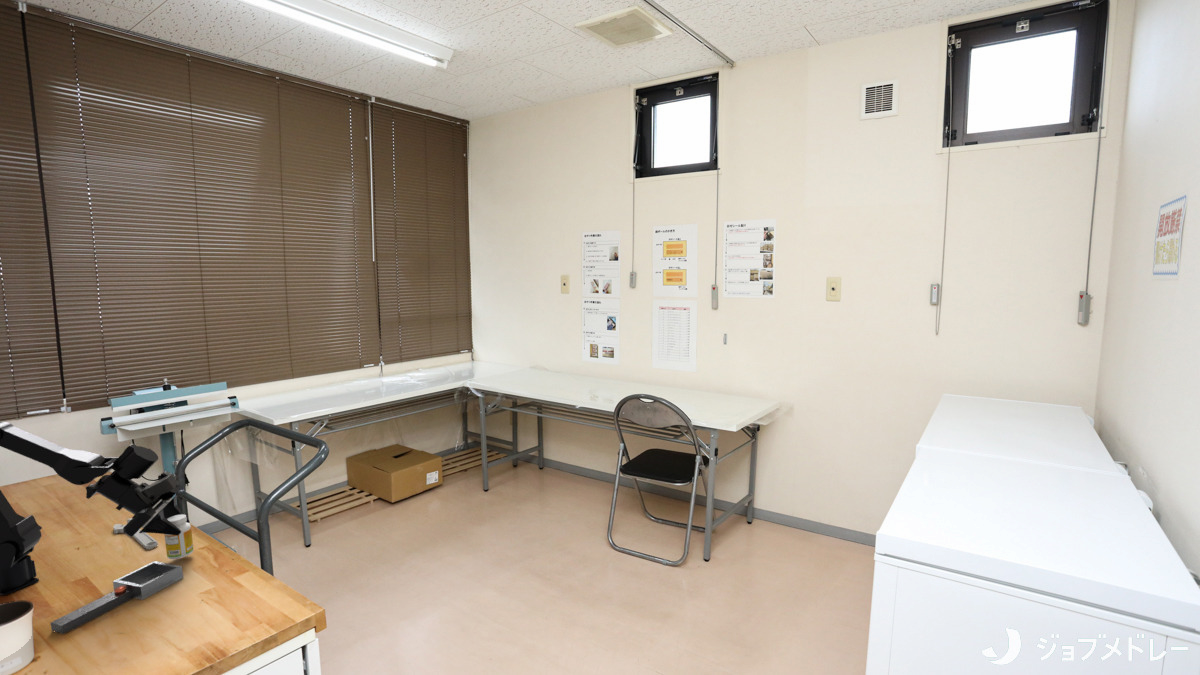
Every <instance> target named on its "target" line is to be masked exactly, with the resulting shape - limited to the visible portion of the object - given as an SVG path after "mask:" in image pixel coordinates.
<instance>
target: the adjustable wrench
mask: <svg viewBox="0 0 1200 675" xmlns="http://www.w3.org/2000/svg"><path fill="white" fill-rule="evenodd" d="M131 520H132V517H130V518H127V519H126V522H127V523H125V524H120V523H116V524H114V525H113V527H112V528H113V534H115V535H117V534H124V532H123V528H124V527H125V526H126V525H127V524H128V523H129V522H130V521H131ZM141 530H142V529H141V528H140V529H139V530H138V531H137V532H136V533H135V534H134V535H133V537H134V538H135V539H136V540H137V543H139V544H140V546H142V545H143V546H142V547H143V548H144V549H145V548H146V549H145V550H147V549H149V550H153V549H152V548H154V547H156V546H157V545H158V546H159V542H158V540H156V539H155V538H154V537H152V536H151V535H150V534H149V533H139V532H140V531H141ZM133 537H132V538H133ZM134 538H133V539H134ZM135 539H134V540H135ZM136 540H135V541H136ZM158 546H157V547H158ZM157 547H156V548H157ZM154 549H155V548H154Z"/></svg>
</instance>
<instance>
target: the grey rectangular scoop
mask: <svg viewBox="0 0 1200 675" xmlns="http://www.w3.org/2000/svg"><path fill="white" fill-rule="evenodd" d="M183 579H184V573H183V566H182V565H176V564H172V563H168V562H167V563H166V562H161V561H156V560H154V561H152V562H149V563H148V564H145V565H144V566H141V567H139V568H137V569H134V571H131V572H129V573H127V574H125V575H123V576H121V577H119V578H117V579H114V580H112V584H113V585H112V586H113V591H112V592H109V593H107V594H105V595H103V596H101V597H99V598H97V599H95V600H93V601H91V602H89V603H87V604H85V605H83V606H81V607H78V608H77V609H75V610H73V611H71V612H69V613H67V614H64V615H63V616H60V617H59V618H57V619H55V620H53V621H51V622H50V627H51V632H52V631H55V632H59V633H62V634H64V633H66V632H68V631H70V630H72V629H73V630H75V629H77V628H79V627H81V626H83V625H85V624H87V623H89V622H91V621H92V620H94V619H96V618H99V617H100V616H102V615H104V614H106V613H108V612H110V611H111V610H114V609H116V608H117V607H119V606H121V605H124V604H125V603H127V602H129V601H131V600H133V599H135V600H136V599H137V600H140V601H141V600H142V601H143V600H145V599H148V598H149V597H150V596H153V595H155V594H157V593H158V592H160V591H162V590H164V589H166V588H168V587H170V586H171V584H172V585H173V584H175V583H177V582H179V581H181V580H183ZM73 630H72V631H73ZM55 632H54V633H55ZM70 632H71V631H70ZM59 633H58V634H59ZM68 633H69V632H68ZM62 634H61V635H62ZM66 634H67V633H66ZM64 635H65V634H64Z"/></svg>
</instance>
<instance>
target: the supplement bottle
mask: <svg viewBox="0 0 1200 675" xmlns="http://www.w3.org/2000/svg"><path fill="white" fill-rule="evenodd" d="M186 517H187V515H186V514H184V513H183V514H181V515H175V516H172V517H170V518H168V519H167V520H168V521H170V522H171V523H172V524H173V525H175V526H176V527H177V528H178V529H179V530H181V533H180V534H179V535H169V534H163V535H164V542H165V551H166V556H167V559H169V560H179V559H182V558H185V557H188V556H190V555H191V554H193V552H194V544H193V533H192V526H191V523H190V522H189V523H187V522H186V521H187V519H188V518H186Z"/></svg>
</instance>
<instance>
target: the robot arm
mask: <svg viewBox="0 0 1200 675" xmlns="http://www.w3.org/2000/svg"><path fill="white" fill-rule="evenodd" d="M0 447H1V448H3V449H6V450H9V451H11V452H13V453H16V454H19V455H20V456H23V457H26V458H28V459H30V460H33V461H35V462H38V463H41V464H43V465H45V466H46V467H47V466H48V467H49V468H51V469H53V470H54V472H55V473H56V474H57V476H59V477H60V478H62V479H64V480H65V481H67V482H68V483H70V484H72V485H76V486H83V485H87V484H89V483H90V484H89V485H87V486H86V487H85V491H86V493H85V494H86V495H85V497H86V499H88V500H89V499H91V498H92V497H94V496H96V494H99V495H101V496H103V497H105V499H108V500H110V501H111V502H113V503H115V505H117V506H116V507H115V509H116V510H118V511H121V510H122V509H124V510H126V511H128V512H129V513H131V514H132V515H133V516H131V518H132V520H131V521H130V522H129V523H126V524H127V525H126V524H125V525H126V526H125V527H124V528H123V532H124V533H123V534H124V535H126V536H127V537H129V538H133V537H132V536H133V535H134V534H135V533H136V532H137V531H138V530H139V529H141V528H142V529H141V531H140V532H139V533H147V534H158V535H159V534H160V535H164V534H169V535H179V534H180V533H181V530H179V529H178V528H177V527H176V526H175V525H173V524H172V523H171V522H170V521H168V520H167V519H168V518H170V517H172V516H175V515H181V514H184V512H183V511H182V510H181V509H180V507H179V506H178V504H177V503H178V500H177V498H178V494H177V493H178V492H179V491H180V488H179V487H178V485H180V482H178V480H177V478H178V475H176V474H174V473H173V472H172V473H171V472H170V471H166V470H165V471H164V472H162V473H160V474H159V475H158V476H157V480H155V481H154V482H152V483H151V484H149V483H146V482H142V483H140V484H138V483H137V482H136V481H134V480H135V479H136V480H137V479H141V478H142V477H143V475H145V473H147V471H149V470H150V468H152V467H153V465H155V463H156V462H157V461H158V460H159V455H158V454H157V453H156V452H155V451H154V450H152V449H151V448H148V447H145V446H140V445H136V444H134V443H131V444H130V445H128V446H127V447H126V448H125V449H124V451H123V452H122V453H121V454H120V455H119V456H118V457H117V456H116V457H115V456H103V455H101V454H98V453H94V452H90V451H87V450H78V449H71V448H67V447H64V446H62V445H60V444H57V443H55V442H52V441H49V440H48V439H45V438H43V437H40V436H39V435H35V434H33V433H31V432H27V431H26V430H23V429H21V428H18V427H17V426H14V425H13V424H12V423H11V422H7V421H0ZM112 470H113V472H111V473H110V474H107V473H109V472H110V471H112ZM99 477H100V478H99ZM97 478H99V479H98V480H97V481H96V482H95V483H91V482H93V481H94V480H96V479H97ZM133 479H134V480H133ZM186 518H187V516H186ZM186 522H187V523H189V524H190V522H191V521H190V520H189V518H187V521H186ZM42 529H43V527H42V526H41V525H39V523H38V522H37V521H36V518H35V516H34V515H33V514H30V515H27V516H26V517H24V516H22V515H20V514H19V513H17V512H16V511H15V509H14V508H13V506H12V504H10V502H9V500H8V498H7V497H6V496H5V495H4V492H3V491H2V490H1V489H0V596H7V595H10V594H12V593H14V592H17V591H18V590H21V589H23V588H25V587H28V586H31V585H33V584H35V583H37V582H39V581H40V579H39V578H38V577H37V576H38V575H37V570H36V564H35V560H34V559H32V556H31V555H29V554H30V553H33V552H34V549H35V547H36V545H37V544H38V543H39V542H40V540H41V539H42V538H41V537H42V531H41V530H42Z"/></svg>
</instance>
